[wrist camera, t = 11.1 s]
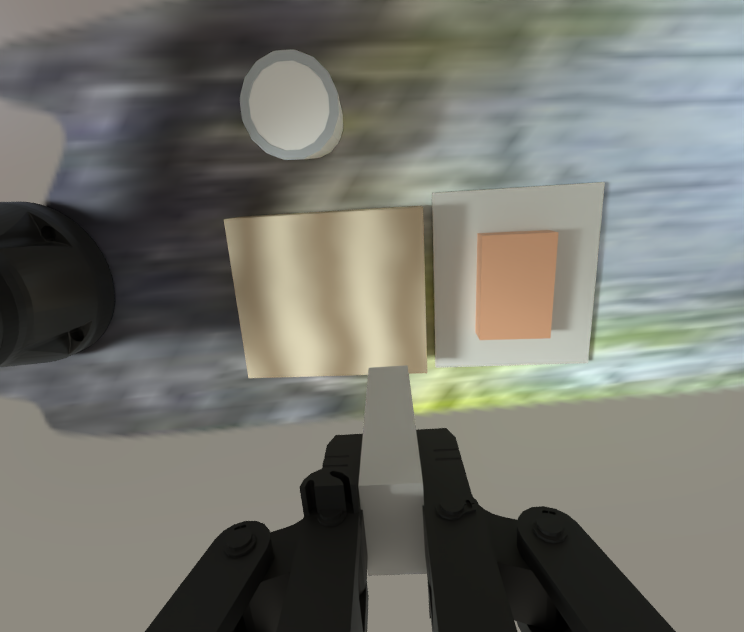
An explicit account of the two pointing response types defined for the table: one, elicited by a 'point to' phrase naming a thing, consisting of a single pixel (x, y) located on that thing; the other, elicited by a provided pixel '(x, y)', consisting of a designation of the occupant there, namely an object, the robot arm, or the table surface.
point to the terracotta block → (515, 284)
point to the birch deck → (330, 291)
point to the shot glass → (291, 106)
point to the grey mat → (511, 214)
